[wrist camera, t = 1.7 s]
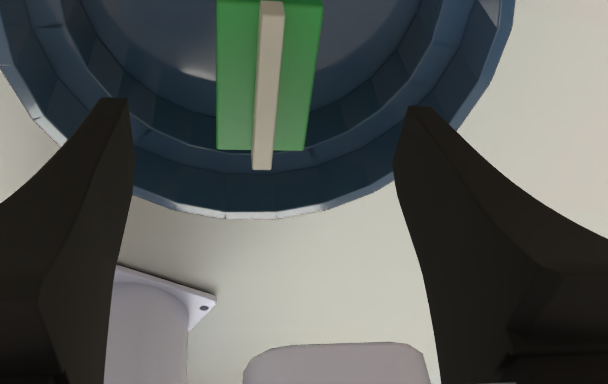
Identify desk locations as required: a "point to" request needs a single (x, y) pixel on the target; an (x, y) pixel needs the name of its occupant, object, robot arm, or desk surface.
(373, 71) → the bowl
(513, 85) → the desk surface
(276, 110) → the green rectangular block
